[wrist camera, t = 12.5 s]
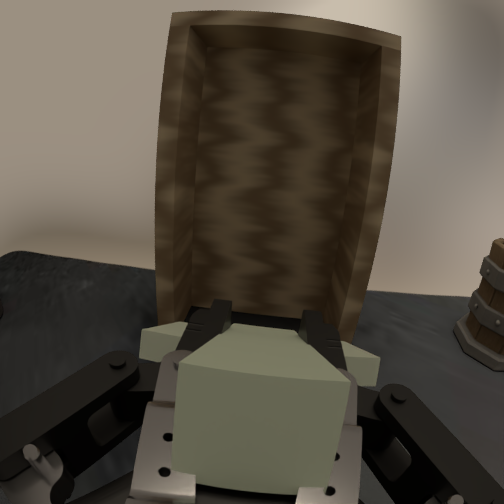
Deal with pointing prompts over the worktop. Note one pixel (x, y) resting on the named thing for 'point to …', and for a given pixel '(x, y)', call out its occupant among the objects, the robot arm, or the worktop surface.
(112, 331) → the worktop surface
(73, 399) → the robot arm
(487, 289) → the tankard
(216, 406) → the sage mallet
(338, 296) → the wooden crate
